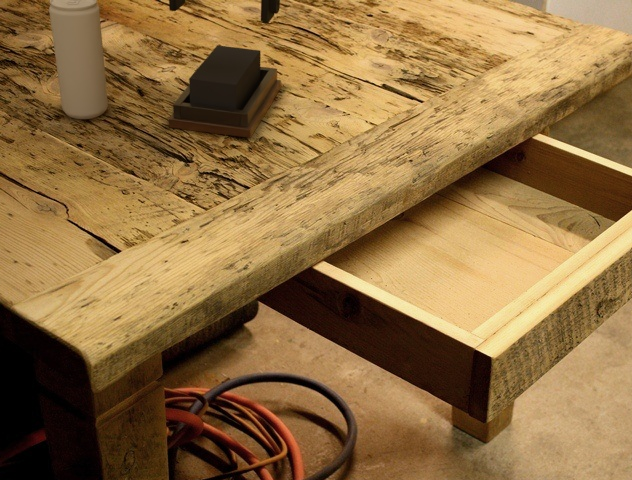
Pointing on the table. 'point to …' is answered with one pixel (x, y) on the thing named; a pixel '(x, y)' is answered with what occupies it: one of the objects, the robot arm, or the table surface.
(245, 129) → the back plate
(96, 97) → the beverage can
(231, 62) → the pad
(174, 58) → the table surface
